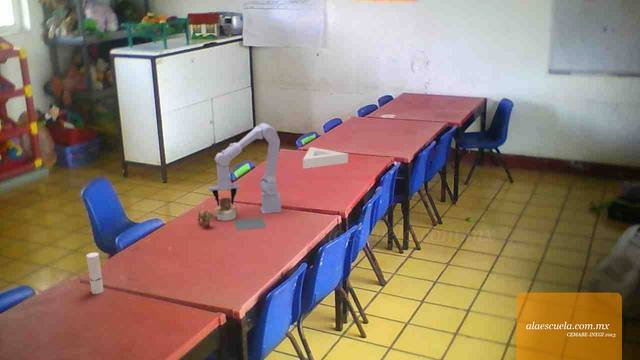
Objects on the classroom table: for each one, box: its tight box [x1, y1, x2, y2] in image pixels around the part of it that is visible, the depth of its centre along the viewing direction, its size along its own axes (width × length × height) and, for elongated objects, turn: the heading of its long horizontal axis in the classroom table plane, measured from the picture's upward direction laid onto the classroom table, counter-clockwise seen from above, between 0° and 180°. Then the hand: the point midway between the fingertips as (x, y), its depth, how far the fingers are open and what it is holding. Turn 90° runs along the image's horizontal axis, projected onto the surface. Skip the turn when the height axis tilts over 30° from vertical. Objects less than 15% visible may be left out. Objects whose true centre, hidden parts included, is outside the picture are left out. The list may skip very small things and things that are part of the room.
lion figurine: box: [196, 209, 216, 230], centre depth 307 cm, size 15×5×9 cm, turn 38°
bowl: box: [215, 211, 237, 222], centre depth 317 cm, size 9×9×4 cm
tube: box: [86, 252, 104, 295], centre depth 244 cm, size 4×4×15 cm
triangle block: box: [302, 146, 349, 170], centre depth 406 cm, size 30×26×6 cm
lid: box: [213, 197, 238, 214], centre depth 315 cm, size 11×11×6 cm
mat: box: [233, 216, 268, 232], centre depth 308 cm, size 14×14×1 cm
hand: (225, 204), depth 315 cm, fingers open, 6 cm apart
